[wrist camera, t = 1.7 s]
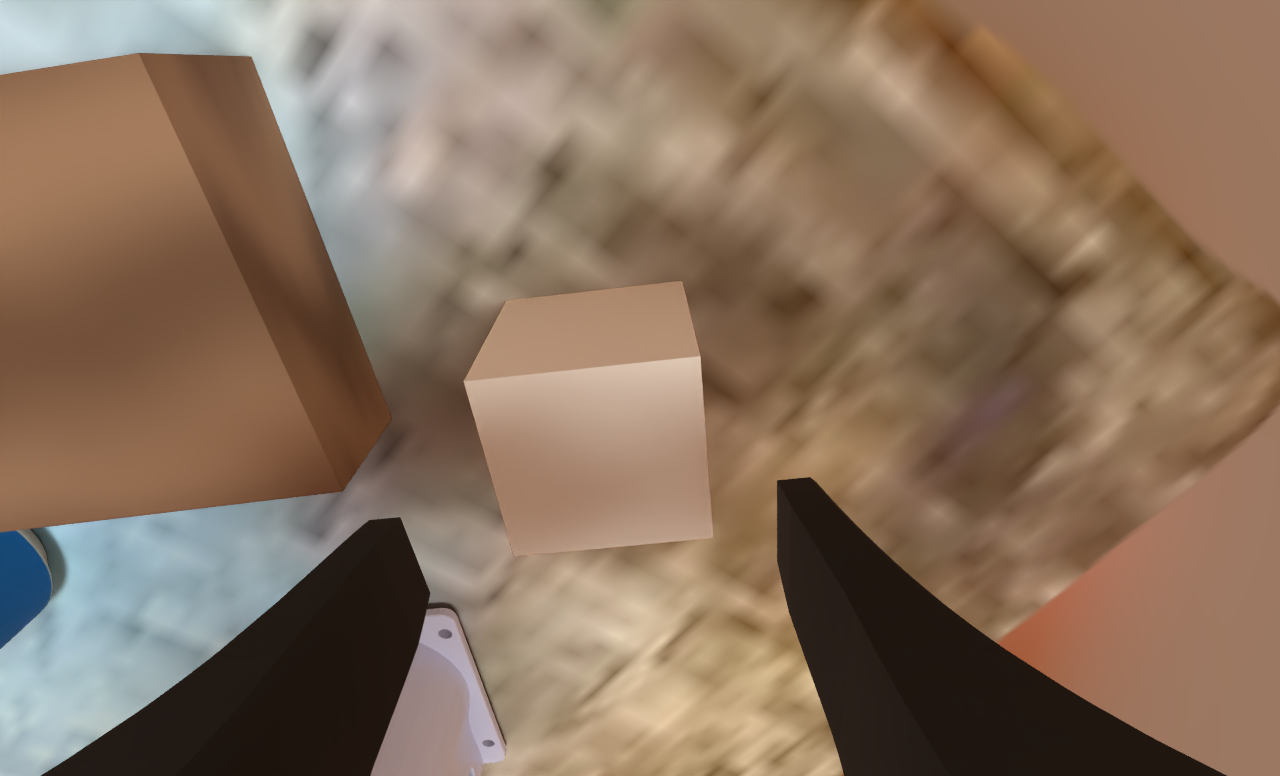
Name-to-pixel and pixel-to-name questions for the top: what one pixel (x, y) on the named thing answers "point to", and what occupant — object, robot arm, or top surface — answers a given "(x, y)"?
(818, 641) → the robot arm
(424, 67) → the top surface
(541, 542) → the cube
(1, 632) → the beverage can
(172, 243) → the walnut box
